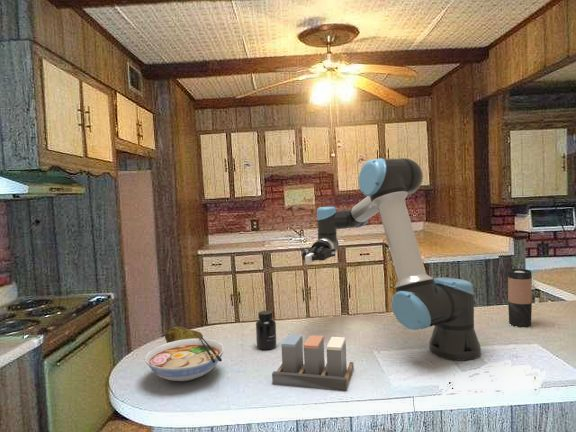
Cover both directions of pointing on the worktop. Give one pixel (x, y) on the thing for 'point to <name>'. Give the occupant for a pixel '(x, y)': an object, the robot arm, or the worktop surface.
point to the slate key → (292, 353)
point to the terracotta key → (314, 355)
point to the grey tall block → (336, 357)
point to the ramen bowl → (184, 358)
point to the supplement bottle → (266, 331)
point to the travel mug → (519, 297)
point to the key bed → (313, 379)
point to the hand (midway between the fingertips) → (307, 260)
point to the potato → (181, 334)
